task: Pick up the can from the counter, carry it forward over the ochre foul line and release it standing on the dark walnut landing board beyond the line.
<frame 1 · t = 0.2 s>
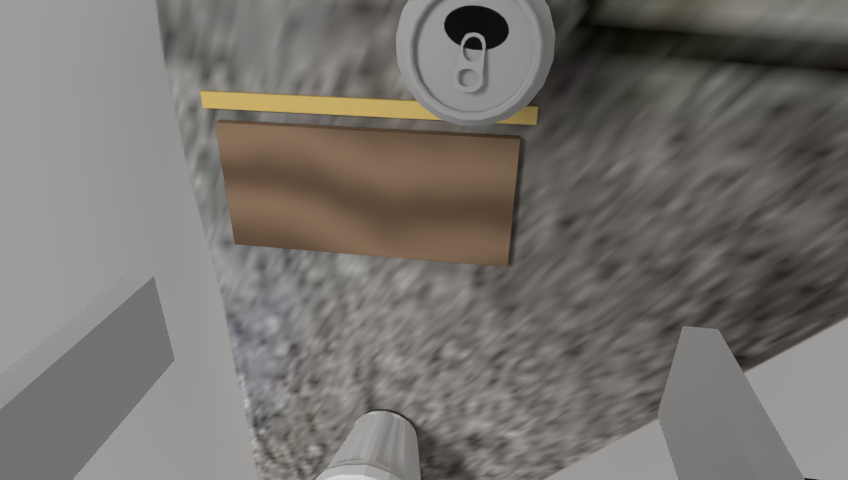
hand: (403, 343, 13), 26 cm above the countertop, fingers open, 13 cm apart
can: (483, 26, 34), on the countertop
cup: (386, 430, 52), on the countertop
landing board: (367, 192, 41), on the countertop
foul line: (364, 106, 38), on the countertop
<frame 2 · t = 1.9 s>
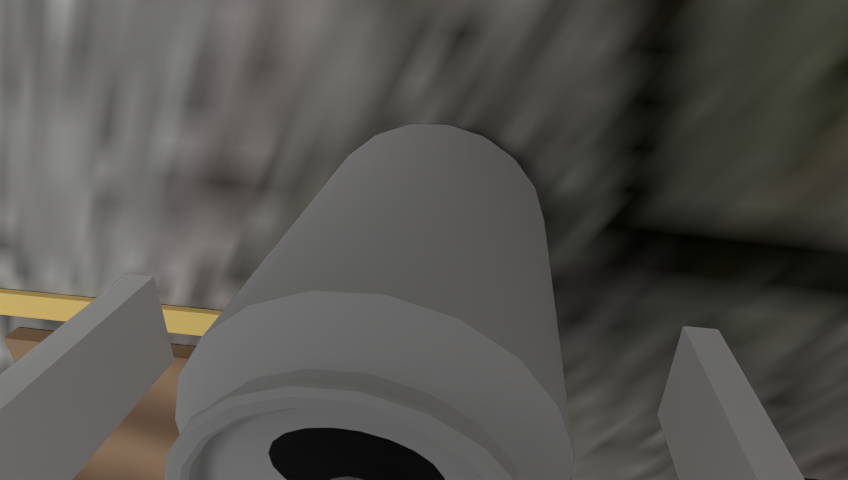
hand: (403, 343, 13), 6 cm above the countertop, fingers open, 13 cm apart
can: (435, 217, 19), on the countertop
landing board: (262, 434, 26), on the countertop
foul line: (242, 324, 22), on the countertop
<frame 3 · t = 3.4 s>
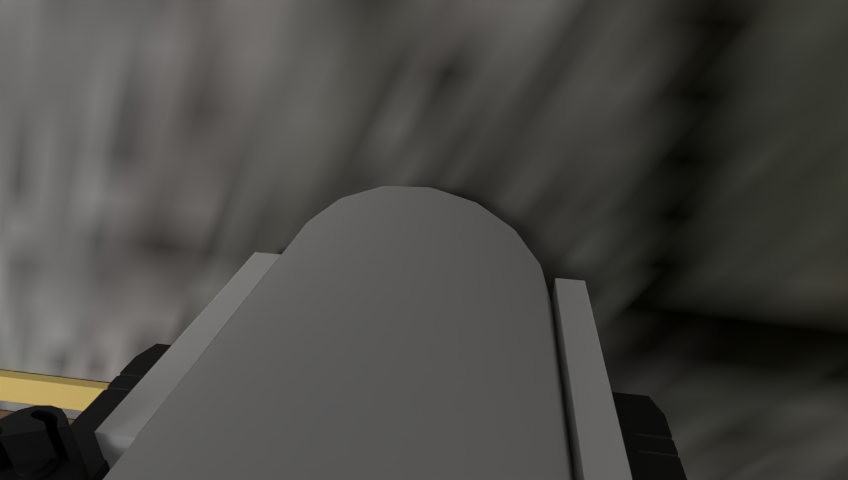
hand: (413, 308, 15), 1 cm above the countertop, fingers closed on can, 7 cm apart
can: (417, 291, 16), on the countertop, touching gripper
foul line: (191, 405, 19), on the countertop
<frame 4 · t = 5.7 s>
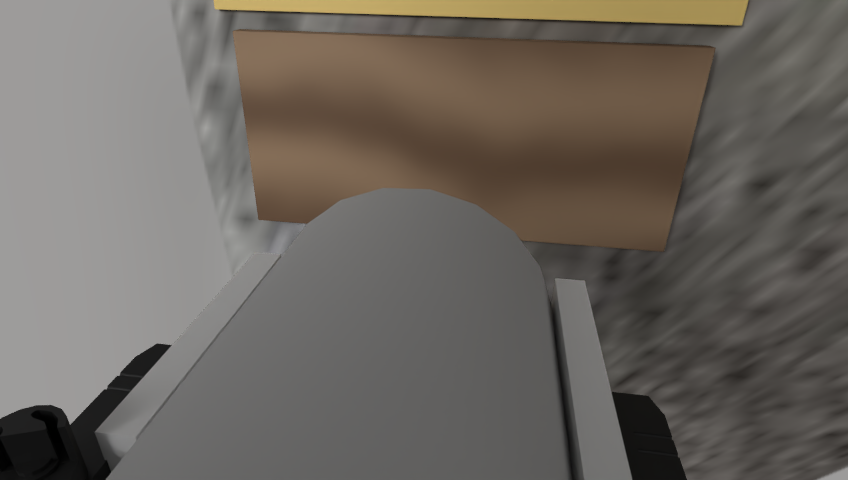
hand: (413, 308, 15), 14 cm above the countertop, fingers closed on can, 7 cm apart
can: (417, 293, 16), point 14 cm above the countertop, touching gripper
landing board: (457, 140, 27), on the countertop
foul line: (464, 2, 24), on the countertop
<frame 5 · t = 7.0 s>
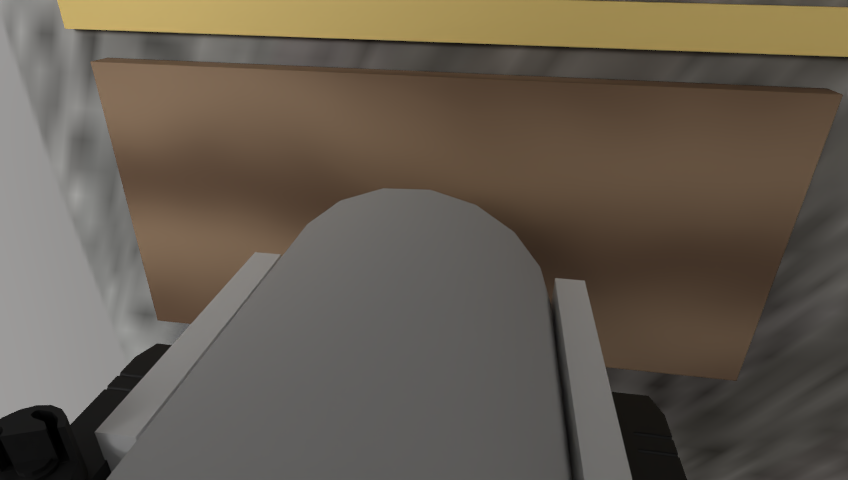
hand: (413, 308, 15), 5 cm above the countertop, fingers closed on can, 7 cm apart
can: (417, 293, 16), point 4 cm above the countertop, touching gripper
landing board: (434, 220, 19), on the countertop
foul line: (440, 19, 16), on the countertop
when the fingers open (3 cm above the countertop, at t = 8.1 s): can drops 1 cm, resting on landing board.
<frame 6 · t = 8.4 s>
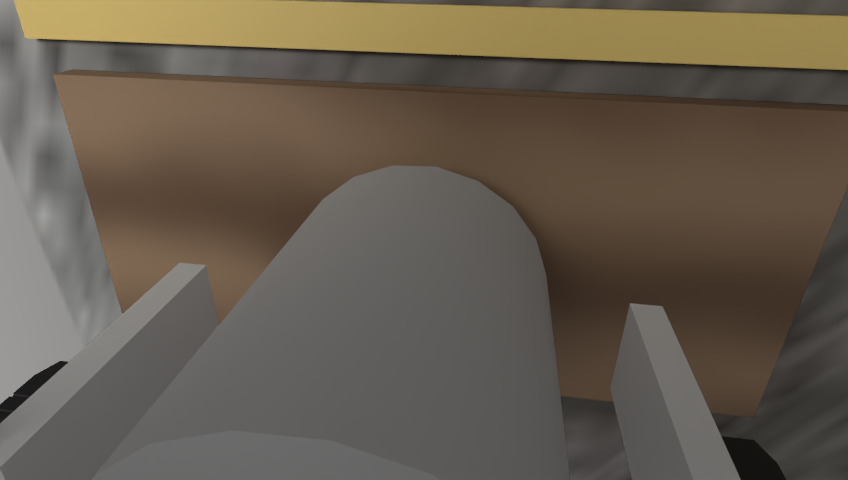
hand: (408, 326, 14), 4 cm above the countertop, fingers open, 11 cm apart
can: (423, 266, 17), point 1 cm above the countertop, touching landing board
landing board: (427, 244, 17), on the countertop
foul line: (432, 28, 14), on the countertop
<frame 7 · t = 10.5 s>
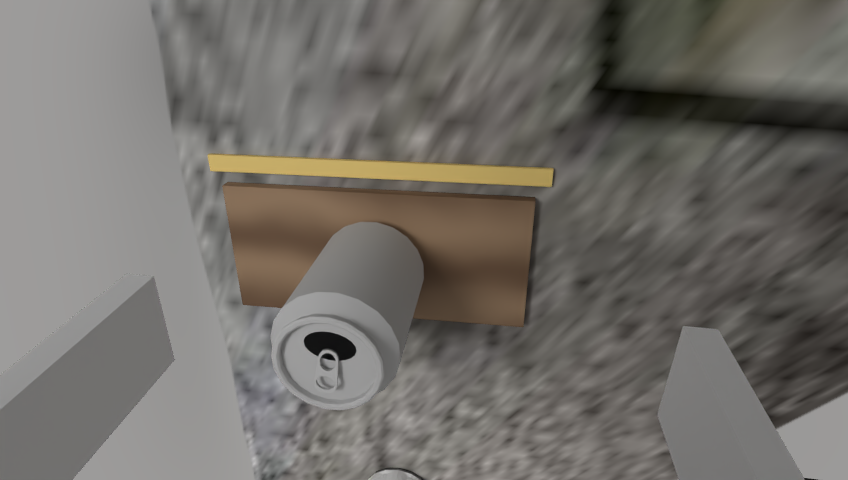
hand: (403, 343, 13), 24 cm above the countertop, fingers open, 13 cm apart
can: (375, 262, 39), point 1 cm above the countertop, touching landing board
landing board: (378, 252, 40), on the countertop
foul line: (374, 168, 37), on the countertop
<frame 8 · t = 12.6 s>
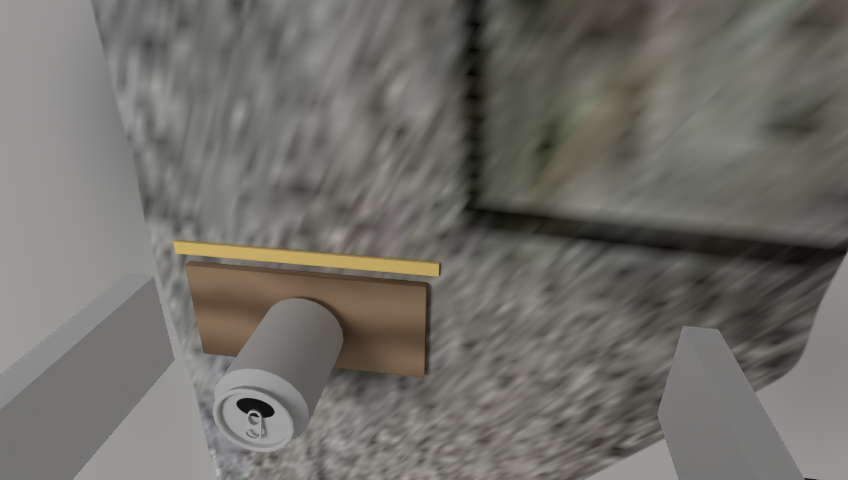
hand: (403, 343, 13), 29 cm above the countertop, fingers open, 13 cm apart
can: (307, 325, 50), point 1 cm above the countertop, touching landing board
landing board: (309, 317, 50), on the countertop
foul line: (303, 256, 47), on the countertop
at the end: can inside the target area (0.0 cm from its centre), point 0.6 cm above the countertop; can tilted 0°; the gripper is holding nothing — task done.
